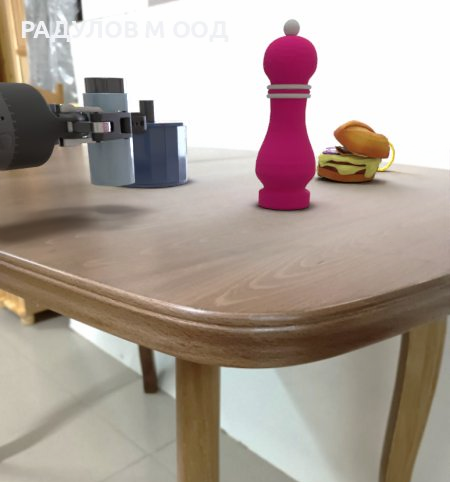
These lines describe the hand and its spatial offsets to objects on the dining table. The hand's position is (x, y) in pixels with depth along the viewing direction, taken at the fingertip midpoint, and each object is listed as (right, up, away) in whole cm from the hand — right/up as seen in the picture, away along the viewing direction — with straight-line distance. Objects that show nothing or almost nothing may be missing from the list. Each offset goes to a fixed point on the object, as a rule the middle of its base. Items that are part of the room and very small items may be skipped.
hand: (125, 121), depth 56 cm
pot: (0, -2, +21) cm, 21 cm away
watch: (+39, +3, +34) cm, 52 cm away
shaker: (-1, -7, +1) cm, 7 cm away
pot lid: (0, +6, +18) cm, 19 cm away
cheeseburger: (+32, -1, +24) cm, 40 cm away
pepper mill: (+19, -9, +4) cm, 21 cm away
